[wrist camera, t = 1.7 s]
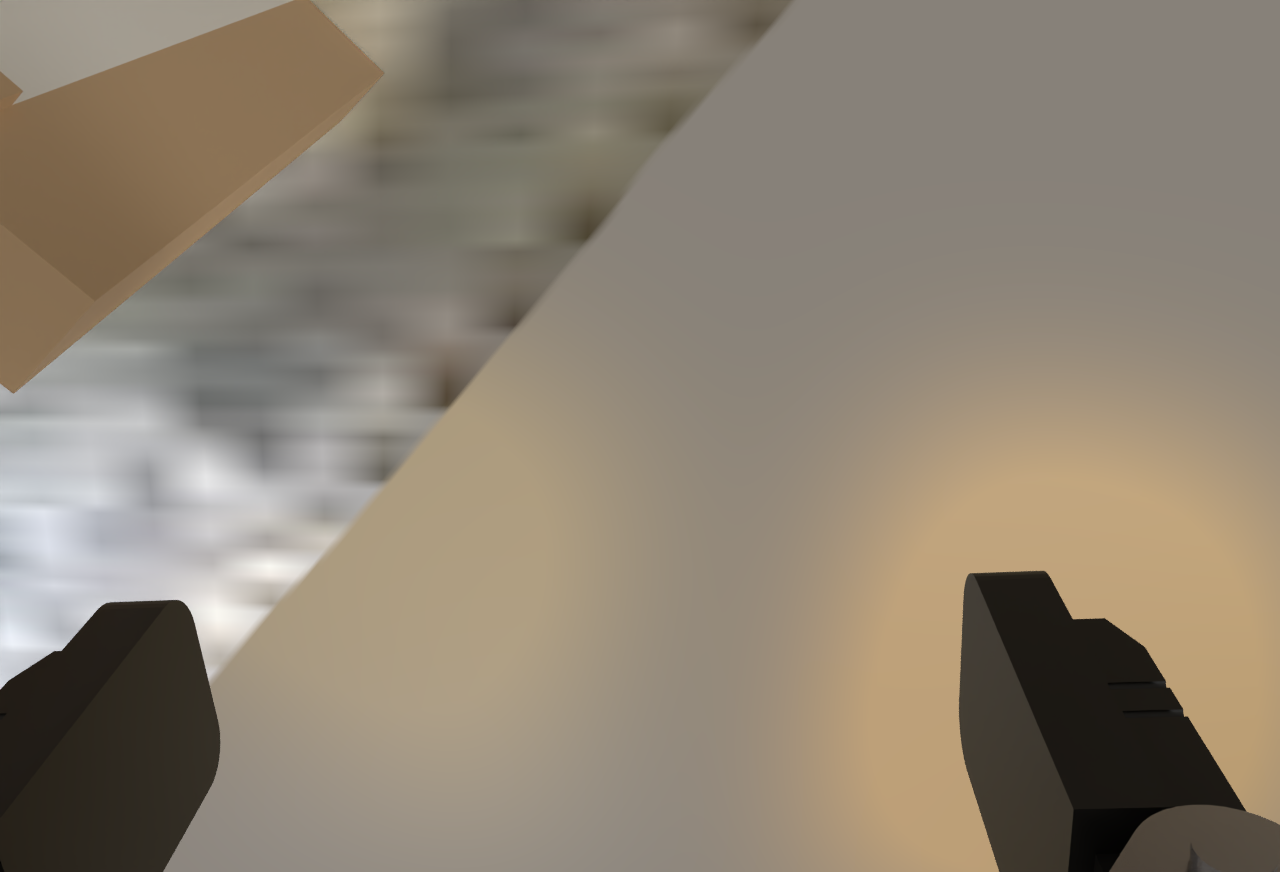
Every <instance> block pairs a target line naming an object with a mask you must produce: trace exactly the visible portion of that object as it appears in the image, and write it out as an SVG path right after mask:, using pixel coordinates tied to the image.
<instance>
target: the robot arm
mask: <svg viewBox="0 0 1280 872" xmlns="http://www.w3.org/2000/svg"><path fill="white" fill-rule="evenodd" d="M959 720H960V734H961V742H962V749H963V755H964V760H965V765H966V768H967V772H968V775H969V778H970V781H971V784H972V787H973V790H974V794H975V797H976V800H977V803H978V806H979V809H980V813H981V816H982V819H983V822H984V825H985V828H986V831H987V835H988V838H989V841H990V844H991V847H992V850H993V853H994V857H995V860H996V863H997V866H998V869H999V872H1280V825H1279V824H1277V823H1275V822H1273V821H1270V820H1268V819H1266V818H1263V817H1261V816H1258V815H1255V814H1252V813H1249V812H1246V810H1245V808H1244V807H1243V805H1242V804H1241V802H1240V800H1239V799H1238V797H1237V795H1236V794H1235V792H1234V791H1233V789H1232V787H1231V786H1230V784H1229V783H1228V781H1227V779H1226V778H1225V776H1224V774H1223V773H1222V771H1221V770H1220V768H1219V766H1218V765H1217V763H1216V761H1215V760H1214V758H1213V757H1212V755H1211V753H1210V752H1209V750H1208V749H1207V747H1206V745H1205V744H1204V742H1203V741H1202V739H1201V737H1200V736H1199V734H1198V732H1197V731H1196V729H1195V728H1194V726H1193V724H1192V723H1191V721H1190V720H1189V718H1188V717H1184V714H1183V708H1182V707H1181V705H1180V704H1179V702H1178V700H1177V699H1176V697H1175V695H1174V694H1173V692H1172V690H1171V689H1170V688H1166V681H1165V679H1164V677H1163V676H1162V674H1161V673H1160V671H1159V670H1158V668H1157V666H1156V664H1155V663H1154V661H1153V660H1152V658H1151V657H1150V655H1149V653H1148V652H1147V650H1146V649H1145V647H1144V646H1143V645H1141V644H1140V643H1138V642H1137V641H1136V640H1134V639H1133V638H1131V637H1130V636H1129V635H1127V634H1126V633H1124V632H1123V631H1122V630H1120V629H1119V628H1117V627H1116V626H1115V625H1113V624H1112V623H1110V622H1109V621H1108V620H1106V619H1105V618H1103V619H1072V617H1071V615H1070V613H1069V612H1068V610H1067V608H1066V606H1065V604H1064V602H1063V601H1062V599H1061V597H1060V595H1059V593H1058V591H1057V589H1056V588H1055V586H1054V584H1053V582H1052V580H1051V578H1050V577H1049V575H1048V574H1047V573H1046V572H1045V571H1024V572H996V573H970V574H969V575H968V576H967V579H966V583H965V589H964V602H963V625H962V648H961V672H960V697H959ZM219 754H220V731H219V724H218V719H217V715H216V711H215V707H214V702H213V698H212V694H211V690H210V686H209V681H208V677H207V673H206V669H205V665H204V661H203V656H202V652H201V648H200V644H199V640H198V636H197V631H196V627H195V623H194V620H193V617H192V614H191V612H190V610H189V609H188V607H187V606H186V605H185V604H184V603H183V602H181V601H179V600H164V601H136V602H110V603H106V604H104V605H102V606H101V607H100V608H99V609H98V610H97V611H96V612H95V613H94V615H93V616H92V617H91V618H90V619H89V620H88V621H87V623H86V624H85V625H84V626H83V627H82V628H81V629H80V631H79V632H78V633H77V634H76V635H75V636H74V637H73V639H72V640H71V641H70V642H69V643H68V644H67V645H66V647H65V648H64V649H63V650H62V651H54V652H52V653H51V654H49V655H48V656H46V657H45V658H43V659H41V660H40V661H38V662H37V663H35V664H34V665H32V666H31V667H29V668H28V669H26V670H24V671H23V672H21V673H20V674H18V675H17V676H15V677H14V678H12V679H11V680H9V681H8V682H7V683H6V684H5V685H4V686H3V687H2V689H1V690H0V872H163V870H164V869H165V867H166V865H167V864H168V862H169V860H170V858H171V857H172V854H173V853H174V851H175V849H176V848H177V846H178V844H179V842H180V840H181V839H182V837H183V835H184V834H185V832H186V830H187V828H188V826H189V825H190V823H191V821H192V819H193V818H194V816H195V814H196V812H197V810H198V808H199V807H200V805H201V803H202V801H203V800H204V798H205V796H206V794H207V793H208V791H209V789H210V787H211V785H212V783H213V781H214V777H215V775H216V771H217V767H218V762H219Z"/></svg>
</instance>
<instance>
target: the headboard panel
mask: <svg viewBox="0 0 1280 872" xmlns="http://www.w3.org/2000/svg"><path fill="white" fill-rule="evenodd" d="M383 74H384V72H383V71H381V70H380V69H379V68H378V67H377V66H376V65H375V64H374V63H373V62H372V61H371V60H370V59H369V58H368V57H367V56H366V55H365V54H364V53H363V52H362V51H361V50H360V49H359V48H358V47H357V46H356V45H355V44H354V43H353V42H352V41H351V40H350V39H349V38H348V37H347V36H346V35H345V34H344V33H342V32H341V31H340V30H339V29H338V28H337V27H336V26H335V25H334V24H333V23H332V22H331V21H330V20H329V19H328V18H327V17H326V16H325V15H324V14H323V13H322V12H321V11H320V10H319V9H318V8H317V7H316V6H315V5H314V4H313V3H312V2H311V1H310V0H0V384H2V385H3V386H4V387H6V388H7V389H8V390H9V391H11V392H12V393H13V394H14V393H15V392H16V391H17V390H19V389H20V388H21V387H22V386H23V385H25V384H26V383H27V382H28V381H29V380H31V379H32V378H33V377H34V376H35V375H37V374H38V373H39V372H40V371H41V370H43V369H44V368H45V367H46V366H47V365H49V364H50V363H51V362H52V361H53V360H55V359H56V358H57V357H58V356H59V355H61V354H62V353H63V352H64V351H65V350H67V349H68V348H69V347H70V346H71V345H73V344H74V343H75V342H76V341H77V340H79V339H80V338H81V337H82V336H83V335H85V334H86V333H87V332H88V331H89V330H91V329H92V328H93V327H94V326H95V325H97V324H98V323H99V322H100V321H101V320H103V319H104V318H105V317H106V316H107V315H109V314H110V313H111V312H112V311H113V310H115V309H116V308H117V307H118V306H119V305H121V304H122V303H123V302H124V301H125V300H127V299H128V298H129V297H130V296H131V295H133V294H134V293H135V292H136V291H137V290H139V289H140V288H141V287H142V286H143V285H145V284H146V283H147V282H148V281H149V280H151V279H152V278H153V277H154V276H155V275H157V274H158V273H159V272H160V271H161V270H163V269H164V268H165V267H166V266H167V265H169V264H170V263H171V262H172V261H173V260H175V259H176V258H177V257H178V256H179V255H181V254H182V253H183V252H184V251H185V250H187V249H188V248H189V247H190V246H191V245H193V244H194V243H195V242H196V241H197V240H199V239H200V238H201V237H202V236H203V235H205V234H206V233H207V232H208V231H209V230H211V229H212V228H213V227H214V226H215V225H217V224H218V223H219V222H220V221H221V220H223V219H224V218H225V217H226V216H227V215H229V214H230V213H231V212H232V211H233V210H235V209H236V208H237V207H238V206H239V205H241V204H242V203H243V202H244V201H245V200H247V199H248V198H249V197H250V196H251V195H253V194H254V193H255V192H256V191H257V190H259V189H260V188H261V187H262V186H263V185H265V184H266V183H267V182H268V181H269V180H271V179H272V178H273V177H274V176H275V175H277V174H278V173H279V172H280V171H281V170H283V169H284V168H285V167H286V166H287V165H289V164H290V163H291V162H292V161H293V160H295V159H296V158H297V157H298V156H299V155H301V154H302V153H303V152H304V151H305V150H307V149H308V148H309V147H310V146H311V145H313V144H314V143H315V142H316V141H317V140H319V139H320V138H321V137H322V136H323V135H325V134H326V133H327V132H328V131H329V130H331V129H332V128H333V127H334V126H335V125H337V124H338V123H339V122H340V121H341V120H342V119H343V118H344V117H345V116H346V115H347V114H348V113H349V111H350V110H351V109H352V108H353V107H354V106H355V105H356V104H357V103H358V102H359V100H360V99H361V98H362V97H363V96H364V95H365V94H366V93H367V92H368V91H369V89H370V88H371V87H372V86H373V85H374V84H375V83H376V82H377V81H378V80H379V79H380V77H381V76H382V75H383Z"/></svg>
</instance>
